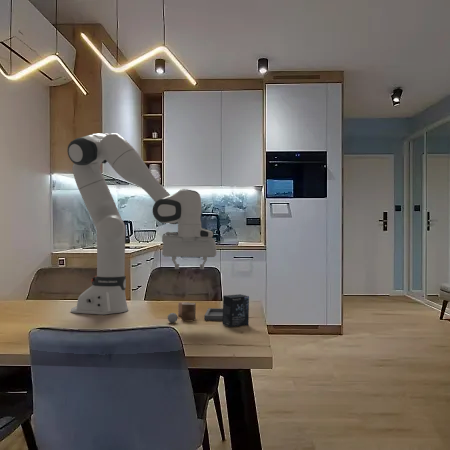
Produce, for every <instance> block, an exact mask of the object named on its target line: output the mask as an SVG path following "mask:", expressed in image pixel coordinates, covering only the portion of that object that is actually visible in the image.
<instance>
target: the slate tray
mask: <svg viewBox="0 0 450 450" xmlns="http://www.w3.org/2000/svg"><path fill="white" fill-rule="evenodd" d="M203 317H204V321H215V322H216V321H217V322H218V321H220V322H221V321H222V322H223V307H222V308H221V307H220V308H217V307H213V308H212V307H208V308H207V310H206V312H205V314H204V316H203Z"/></svg>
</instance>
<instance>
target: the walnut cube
mask: <svg viewBox="0 0 450 450" xmlns="http://www.w3.org/2000/svg"><path fill="white" fill-rule="evenodd" d="M196 314H197V313H196V302H189V303H183V304H182V316H181V321H182V320H193V321H194V322H195V321H196ZM193 321H192V322H193Z"/></svg>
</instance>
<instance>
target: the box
mask: <svg viewBox="0 0 450 450" xmlns="http://www.w3.org/2000/svg"><path fill="white" fill-rule="evenodd" d="M222 308H223V321H222V325H223V326H227V327H230V328H233V327H240V326H241V327H242V326H249V321H250V318H249V316H250V313H249V312H250V297H249V295H246V294H229V295H227V294H226V295H225V294H224V295H223V296H222Z"/></svg>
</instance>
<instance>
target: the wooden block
mask: <svg viewBox="0 0 450 450" xmlns="http://www.w3.org/2000/svg"><path fill="white" fill-rule="evenodd" d="M183 303H190V302H189V301H178V304H177V307H178V308H177V309H178V311H177V312H178V313H177V317H182V304H183Z"/></svg>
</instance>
